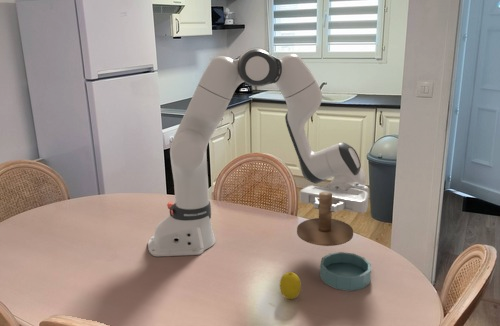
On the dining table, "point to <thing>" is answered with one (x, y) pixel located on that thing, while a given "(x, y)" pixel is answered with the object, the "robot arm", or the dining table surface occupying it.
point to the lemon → (290, 285)
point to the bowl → (345, 271)
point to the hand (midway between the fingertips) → (324, 208)
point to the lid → (325, 226)
